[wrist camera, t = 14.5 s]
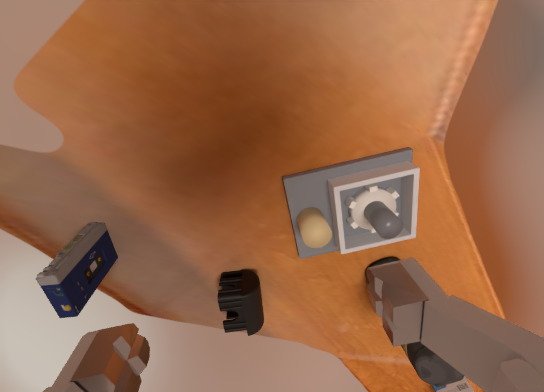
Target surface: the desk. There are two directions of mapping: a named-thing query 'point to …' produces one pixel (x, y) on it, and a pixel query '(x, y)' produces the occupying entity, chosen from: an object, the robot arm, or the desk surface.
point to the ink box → (455, 387)
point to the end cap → (241, 301)
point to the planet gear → (375, 211)
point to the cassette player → (78, 270)
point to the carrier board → (333, 210)
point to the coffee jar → (427, 358)
